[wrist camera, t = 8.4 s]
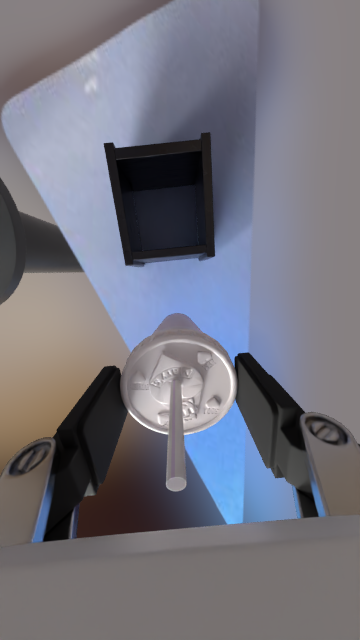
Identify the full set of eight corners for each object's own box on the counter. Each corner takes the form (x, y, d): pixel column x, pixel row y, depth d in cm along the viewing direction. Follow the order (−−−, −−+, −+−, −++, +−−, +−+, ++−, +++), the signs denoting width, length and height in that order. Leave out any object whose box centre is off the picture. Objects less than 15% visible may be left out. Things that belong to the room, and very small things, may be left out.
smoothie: (196, 291, 17) (275, 368, 4) (213, 346, 19) (309, 534, 5) (138, 312, 17) (14, 448, 4) (160, 363, 19) (125, 577, 6)
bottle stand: (138, 267, 22) (125, 265, 17) (124, 180, 20) (103, 142, 14) (205, 260, 22) (215, 256, 17) (200, 172, 20) (210, 131, 14)
